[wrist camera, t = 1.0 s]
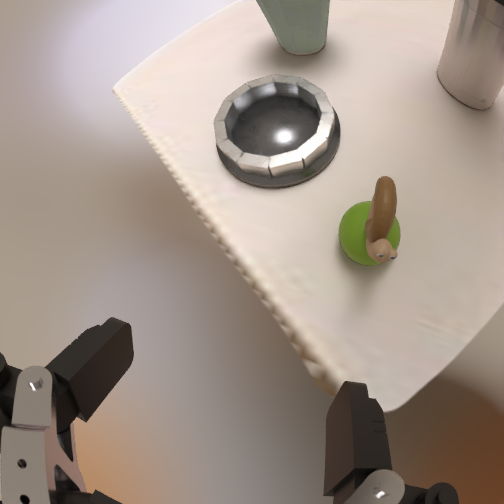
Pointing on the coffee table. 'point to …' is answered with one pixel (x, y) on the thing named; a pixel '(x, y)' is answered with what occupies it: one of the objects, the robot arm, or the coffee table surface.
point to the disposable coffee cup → (298, 23)
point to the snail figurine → (372, 227)
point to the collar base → (276, 131)
